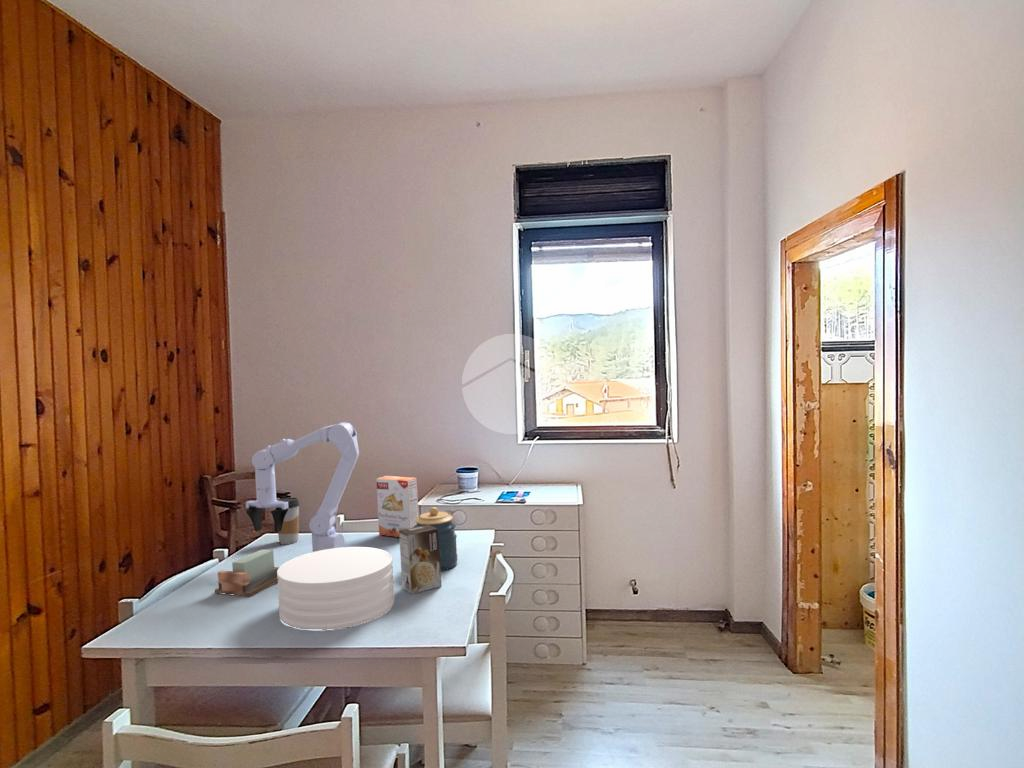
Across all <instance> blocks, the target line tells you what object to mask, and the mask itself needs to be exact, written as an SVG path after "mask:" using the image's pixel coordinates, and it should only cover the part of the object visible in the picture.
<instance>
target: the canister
mask: <svg viewBox="0 0 1024 768" xmlns="http://www.w3.org/2000/svg"><path fill="white" fill-rule="evenodd" d="M428 511H429V512H424V513H421V514H420V515H419V517H418V518H416V519H415V521H416V523H417V524H416V525H415V526H414V527H419V526H424V525H430V526H433V527H435V528H437V529H438V535H439V552H440V568H441V572H442V571H446V570H450V569H453V568H454V567H456V565H457V564H458V553H457V550H458V549H457V538H458V537H457V534H456V532H455V529H456V528H457V524H456V522H454V521H453V519H454V516H453V515H451V514H450V513H448V512H446V511H439V509H438V507H435V506H432V507H431V508H429V510H428ZM414 527H413V528H414Z"/></svg>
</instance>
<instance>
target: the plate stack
mask: <svg viewBox="0 0 1024 768" xmlns="http://www.w3.org/2000/svg"><path fill="white" fill-rule="evenodd" d="M278 567H279V568H278V570H277V578H278V583H277V589H278V592H277V595H278V596H277V598H278V610H279V613H278V614H279V616H280V618H279V620H280V619H281V620H282V621H283V622H284V623H286V624H288V625H290V626H292V627H296V628H300V629H322V630H327V629H339V628H345V629H347V628H346V627H350V626H354V625H358V624H361V623H364V622H367V621H370V620H372V621H374V620H376V619H375V618H377V617H379V616H380V617H382V616H383V615H382V614H384V613H385V612H387V611H388V610H389V609H390V608H391V607H392V606H394V605H393V604H395V594H394V593H395V588H394V587H395V586H394V575H393V574H394V568H393V567H394V566H393V556H392V554H391V553H390V552H388V551H387V550H384V549H380V548H376V547H369V546H345V547H341V548H332V549H326V550H320V551H316V552H313V551H312V552H308V553H305V554H301V555H298V556H296V557H294V558H291V559H289V560H287V561H286V562H283V564H281V565H280V566H278ZM392 608H393V607H392ZM392 608H391V609H392ZM391 609H390V610H391ZM390 610H389V611H390ZM389 611H388V612H389ZM388 612H387V613H388ZM385 614H386V613H385ZM385 614H384V615H385ZM381 615H382V616H381ZM380 617H379V618H380ZM373 619H374V620H373ZM377 619H378V618H377ZM370 622H371V621H370ZM367 623H368V622H367ZM364 624H365V623H364ZM361 625H362V624H361ZM358 626H359V625H358ZM354 627H355V626H354ZM350 628H351V627H350ZM339 630H340V629H339Z"/></svg>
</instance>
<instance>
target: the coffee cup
mask: <svg viewBox="0 0 1024 768" xmlns="http://www.w3.org/2000/svg"><path fill="white" fill-rule="evenodd" d="M277 500H278V501H283V502H288V511H287V513H286V515H285V518H284V521H283V525H282V530H281V531H280V532H277V535H278V542H279V544H281V545H292V544H295V543H297V542H298V540H299V529H300V501H299V499H298V497H283V498H278V499H277ZM274 510H276V509H275V508H274Z"/></svg>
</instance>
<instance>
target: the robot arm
mask: <svg viewBox="0 0 1024 768" xmlns="http://www.w3.org/2000/svg"><path fill="white" fill-rule="evenodd" d="M318 442H324V443H328V442H330V443H331V444H332V445H333V446H334V447H336V448H337V450H338V452H339V454H340V456H341V457H340V459H339V462H338V464H337V467H336V470H335V472H334V474H333V476H332V479H331V482H330V484H329V485H328V488H327V491H326V493H325V496H324V498H323V501H322V503H321V505H320V506H319V507H318V510H317V512H316V514H314V516H313V517H311V519H310V520H309V525H308V527H309V529H310V532H311V543H312V545H311V546H312V552H316V551H320V550H326V549H332V548H341V547H346V543H345V542H346V541H345V536H344V535H343V534H342V533H339V532H337V531H336V527H335V526H334V525H335V524H336V522H337V512H338V509H339V504H340V502H341V498H342V496H343V495H344V493H345V492H344V491H345V490H346V487H347V485H348V482H349V480H350V477H351V474H352V473H353V470H354V468H355V465H356V464H357V461H358V459H359V456H360V449H359V445H358V444H359V443H358V434H357V430H356V429H355V428H354V426H353V425H352V424H351V423H349V422H347V421H341V422H339V423H336V424H331V425H327V426H325V427H321V428H319V429H317V430H314V431H312V432H310V433H308V434H306V435H304V436H301V437H299V438H298V439H296V440H294V439H291V438H287V439H286V438H282V439H280V440H279V442H278V443H275V444H273V445H268V446H266V447H265V448H264V449H261V450H258V451H257V452H255V453H254V454H253V455H252V457H251V463H252V466H253V467H254V472H255V474H254V475H255V477H254V478H255V491H256V500H248V501H245V508H246V511H245V512H246V514H247V515H248V517H249V519H250V520H251V523H252V525H253V528H254V531H255V532H259V531H262V528H263V520H262V519H263V511H264V509H273V510H271V511H270V513H271V515H272V518H273V519H272V520H273V525H274V531H275V533H278V532H280V531H281V530H282V525H283V521H284V518H285V515H286V513H287V511H288V502H283V501H278V499H277V486H276V473H275V472H276V471H275V470H276V469H275V464H279V463H282V462H285V461H286V460H289V459H291V458H293V457H295V456H297V453H298V451H299V450H301V449H302V448H305V447H308V446H310V445H314V444H315V443H318ZM275 509H276V510H275Z"/></svg>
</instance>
